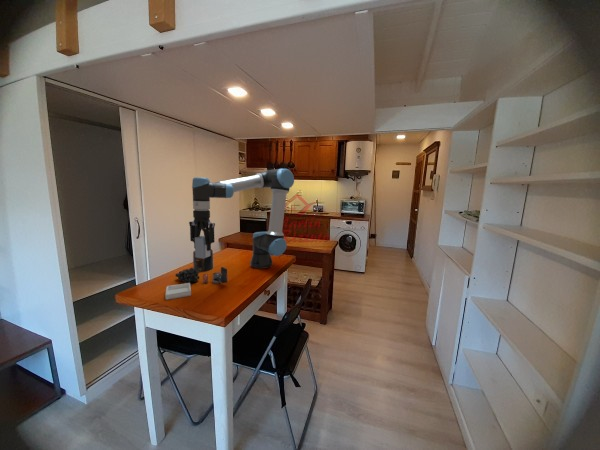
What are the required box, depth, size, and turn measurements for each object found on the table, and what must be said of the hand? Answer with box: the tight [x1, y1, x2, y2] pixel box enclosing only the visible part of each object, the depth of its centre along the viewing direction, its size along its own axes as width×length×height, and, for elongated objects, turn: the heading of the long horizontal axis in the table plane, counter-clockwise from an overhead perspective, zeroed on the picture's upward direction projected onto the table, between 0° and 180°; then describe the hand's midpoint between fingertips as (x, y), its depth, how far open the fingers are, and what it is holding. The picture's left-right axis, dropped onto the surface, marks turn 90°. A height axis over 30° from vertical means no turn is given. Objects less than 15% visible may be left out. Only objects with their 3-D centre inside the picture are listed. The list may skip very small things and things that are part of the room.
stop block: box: [194, 235, 211, 258], centre depth 111 cm, size 5×5×10 cm
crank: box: [212, 266, 228, 284], centre depth 122 cm, size 12×4×8 cm, turn 48°
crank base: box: [202, 273, 222, 285], centre depth 125 cm, size 9×5×5 cm, turn 118°
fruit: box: [174, 267, 200, 283], centre depth 125 cm, size 9×8×15 cm
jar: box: [192, 248, 214, 273], centre depth 144 cm, size 12×12×15 cm
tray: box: [164, 282, 192, 301], centre depth 112 cm, size 11×11×2 cm
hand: (202, 255), depth 112 cm, fingers closed on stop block, 5 cm apart
